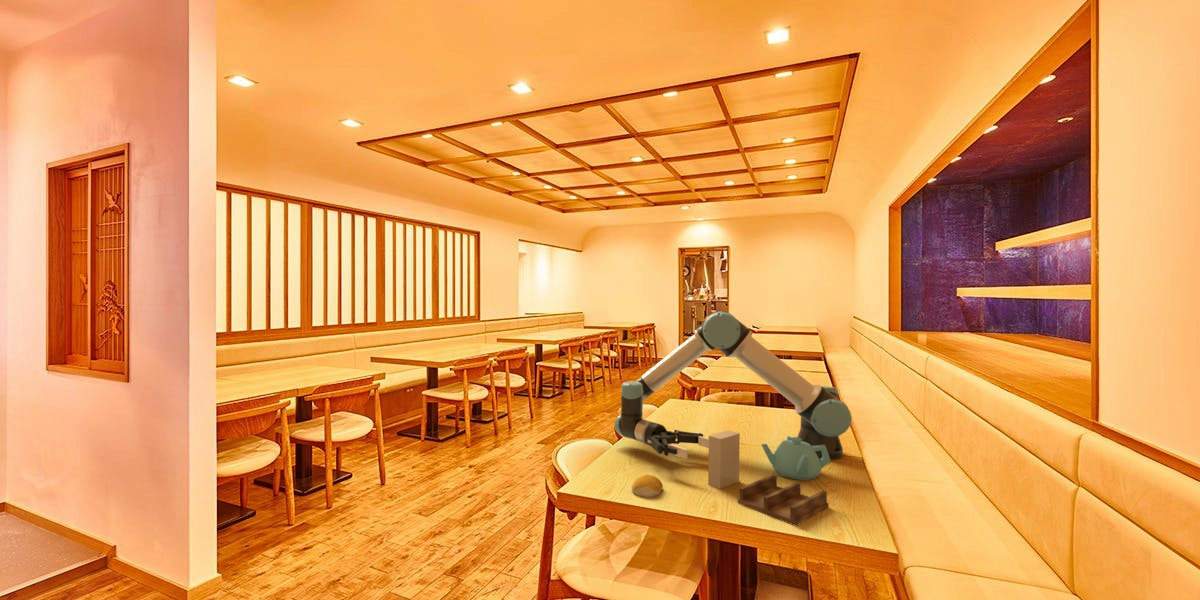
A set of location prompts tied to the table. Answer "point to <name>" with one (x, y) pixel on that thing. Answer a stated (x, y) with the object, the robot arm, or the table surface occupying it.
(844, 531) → the table surface
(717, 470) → the cardboard box
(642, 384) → the robot arm
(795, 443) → the teapot
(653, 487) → the bread roll
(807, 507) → the walnut rack
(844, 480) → the table surface
